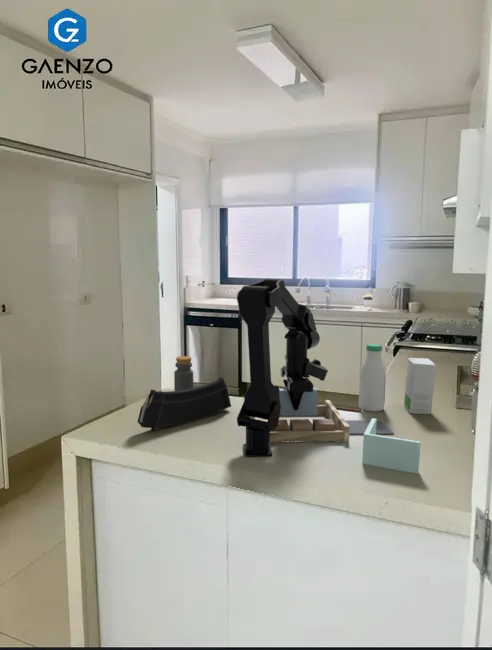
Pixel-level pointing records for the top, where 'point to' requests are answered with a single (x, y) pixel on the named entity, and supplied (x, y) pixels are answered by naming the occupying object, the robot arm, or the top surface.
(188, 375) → the bottle
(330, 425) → the offcut
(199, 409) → the magazine
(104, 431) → the top surface
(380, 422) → the mat
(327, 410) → the frame
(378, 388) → the milk bottle
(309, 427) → the offcut
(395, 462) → the l-shaped corner panel
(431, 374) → the skincare box
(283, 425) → the offcut
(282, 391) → the light blue rectangular panel
